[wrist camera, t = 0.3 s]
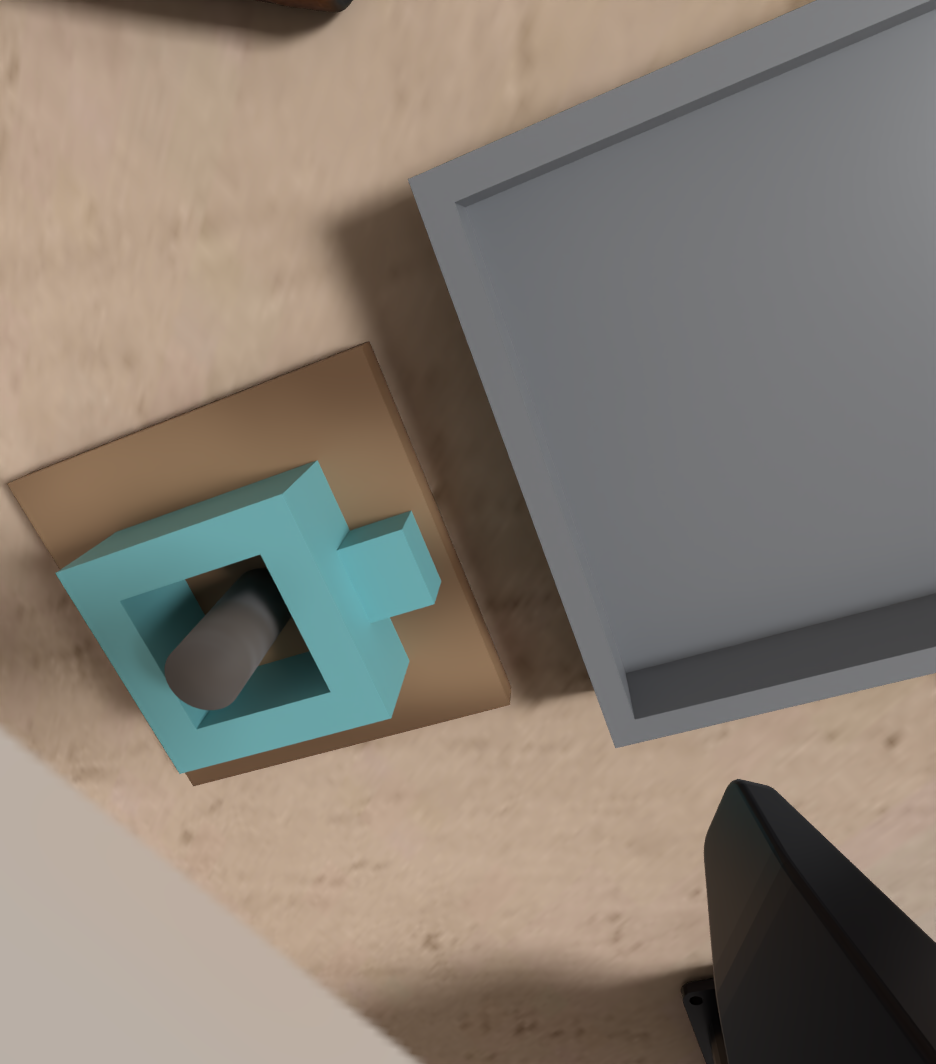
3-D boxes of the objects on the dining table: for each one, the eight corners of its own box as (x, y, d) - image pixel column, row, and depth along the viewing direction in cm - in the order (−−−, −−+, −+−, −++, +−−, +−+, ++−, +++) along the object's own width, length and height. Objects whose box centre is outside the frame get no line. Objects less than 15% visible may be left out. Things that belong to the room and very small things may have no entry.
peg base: (511, 687, 24) (502, 806, 19) (205, 767, 27) (126, 891, 22) (369, 341, 20) (311, 374, 15) (28, 474, 23) (-119, 540, 18)
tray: (1157, 549, 20) (1255, 597, 17) (606, 689, 24) (615, 748, 21) (1123, -112, 15) (1253, -192, 12) (427, 188, 19) (407, 179, 16)
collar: (468, 644, 22) (457, 701, 20) (221, 713, 24) (179, 773, 22) (380, 437, 20) (354, 468, 17) (116, 532, 22) (55, 573, 19)
